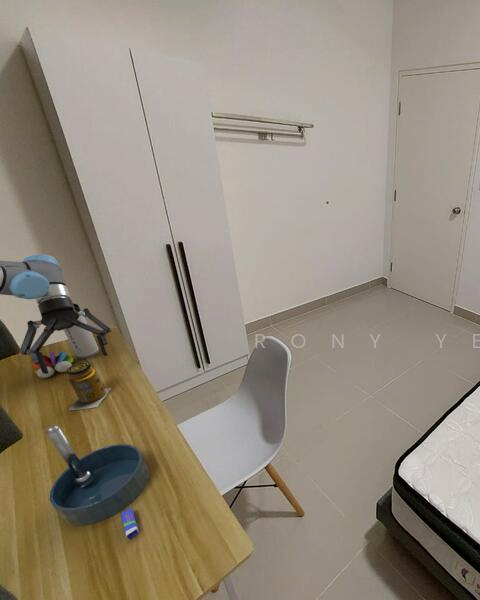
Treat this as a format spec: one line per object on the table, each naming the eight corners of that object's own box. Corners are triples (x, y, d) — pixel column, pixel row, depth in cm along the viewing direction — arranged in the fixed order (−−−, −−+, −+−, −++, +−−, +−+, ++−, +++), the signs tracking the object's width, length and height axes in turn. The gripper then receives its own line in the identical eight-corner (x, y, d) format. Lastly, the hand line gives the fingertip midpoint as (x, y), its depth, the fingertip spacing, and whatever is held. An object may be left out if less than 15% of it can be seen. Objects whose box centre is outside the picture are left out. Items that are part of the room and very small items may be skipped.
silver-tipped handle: (100, 477, 79) (67, 421, 70) (86, 492, 76) (49, 435, 67) (87, 475, 79) (52, 419, 70) (72, 489, 76) (33, 432, 67)
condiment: (111, 388, 106) (98, 358, 100) (97, 407, 99) (82, 377, 93) (85, 391, 104) (69, 361, 99) (68, 411, 97) (50, 380, 91)
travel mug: (94, 346, 124) (73, 300, 115) (102, 352, 121) (81, 305, 112) (73, 354, 119) (49, 307, 110) (81, 361, 116) (57, 313, 107)
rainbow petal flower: (36, 369, 111) (26, 352, 108) (74, 358, 118) (66, 341, 114) (37, 382, 106) (26, 365, 103) (76, 370, 112) (68, 353, 109)
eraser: (128, 540, 69) (125, 535, 68) (123, 518, 72) (120, 513, 71) (139, 533, 70) (136, 528, 69) (134, 512, 74) (131, 507, 73)
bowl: (41, 530, 70) (27, 514, 67) (93, 461, 84) (84, 446, 81) (123, 522, 72) (114, 506, 69) (161, 457, 86) (154, 441, 83)
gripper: (108, 295, 113) (128, 350, 110) (1, 318, 97) (22, 383, 95) (103, 287, 107) (125, 345, 105) (-11, 309, 92) (11, 378, 89)
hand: (76, 363), depth 100 cm, fingers open, 13 cm apart
